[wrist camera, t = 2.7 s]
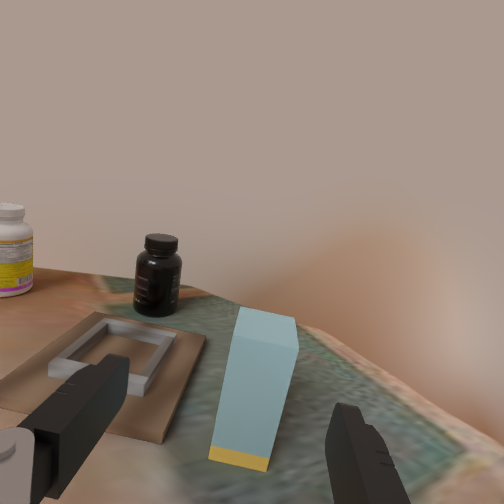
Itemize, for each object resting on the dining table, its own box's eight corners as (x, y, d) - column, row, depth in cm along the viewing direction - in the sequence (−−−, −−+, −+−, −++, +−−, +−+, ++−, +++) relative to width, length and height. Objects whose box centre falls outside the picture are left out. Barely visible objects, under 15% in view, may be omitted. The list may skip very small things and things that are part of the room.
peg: (208, 459, 25) (232, 334, 22) (219, 413, 29) (240, 306, 26) (266, 472, 24) (298, 348, 21) (267, 423, 29) (294, 317, 26)
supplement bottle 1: (-24, 282, 44) (-29, 198, 41) (30, 279, 48) (30, 203, 45) (-26, 302, 39) (-31, 208, 36) (35, 295, 44) (35, 212, 40)
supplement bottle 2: (162, 295, 52) (170, 231, 49) (184, 312, 48) (194, 242, 45) (124, 303, 47) (130, 231, 44) (145, 322, 43) (154, 244, 40)
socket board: (-16, 403, 25) (-18, 378, 25) (94, 319, 41) (95, 301, 40) (161, 444, 25) (165, 419, 24) (204, 343, 40) (207, 326, 40)
